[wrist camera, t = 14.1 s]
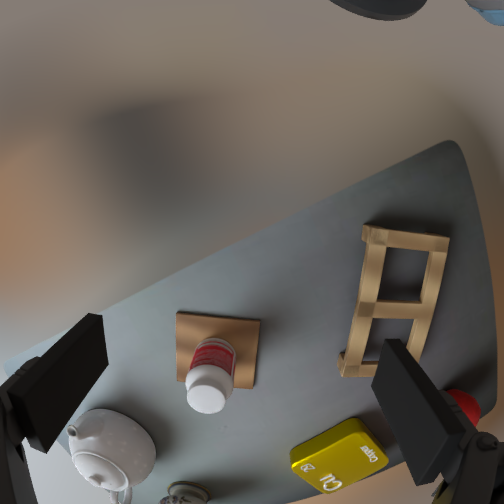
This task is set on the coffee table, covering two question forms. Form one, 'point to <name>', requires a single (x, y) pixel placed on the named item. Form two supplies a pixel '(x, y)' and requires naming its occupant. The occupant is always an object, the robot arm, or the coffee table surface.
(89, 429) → the teapot
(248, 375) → the brown flat square
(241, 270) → the coffee table surface
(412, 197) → the coffee table surface
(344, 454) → the element tile
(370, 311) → the bottle rack
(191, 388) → the pill bottle
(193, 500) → the apothecary jar
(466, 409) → the apple
